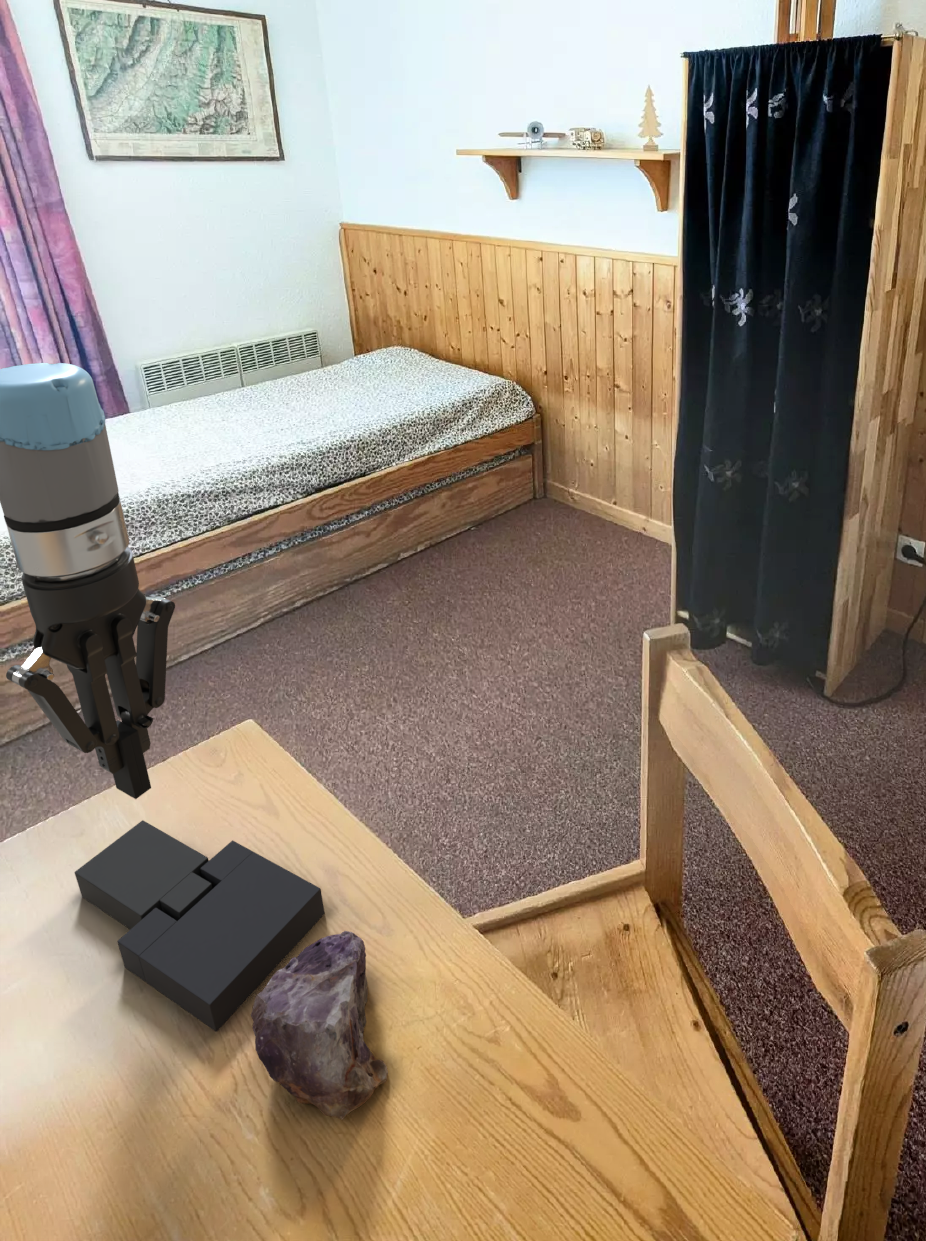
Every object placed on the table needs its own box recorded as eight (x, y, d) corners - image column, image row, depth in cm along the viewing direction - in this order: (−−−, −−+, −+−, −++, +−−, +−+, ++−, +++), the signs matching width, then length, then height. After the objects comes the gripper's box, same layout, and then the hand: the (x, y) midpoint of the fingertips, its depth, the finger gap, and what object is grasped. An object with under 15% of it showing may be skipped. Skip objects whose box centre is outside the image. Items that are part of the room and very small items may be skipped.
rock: (386, 989, 71) (266, 1019, 68) (380, 906, 69) (255, 934, 66) (389, 1120, 60) (245, 1163, 57) (381, 1026, 58) (232, 1065, 55)
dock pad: (126, 973, 71) (116, 941, 70) (238, 869, 81) (232, 840, 80) (217, 1038, 66) (209, 1005, 64) (325, 919, 76) (320, 888, 74)
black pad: (83, 902, 77) (73, 872, 76) (150, 848, 83) (142, 819, 82) (169, 960, 72) (160, 929, 71) (234, 899, 78) (228, 868, 76)
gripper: (16, 612, 56) (87, 859, 64) (182, 535, 67) (224, 755, 75) (-42, 585, 59) (32, 824, 68) (125, 515, 70) (172, 729, 78)
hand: (133, 787), depth 71 cm, fingers closed
